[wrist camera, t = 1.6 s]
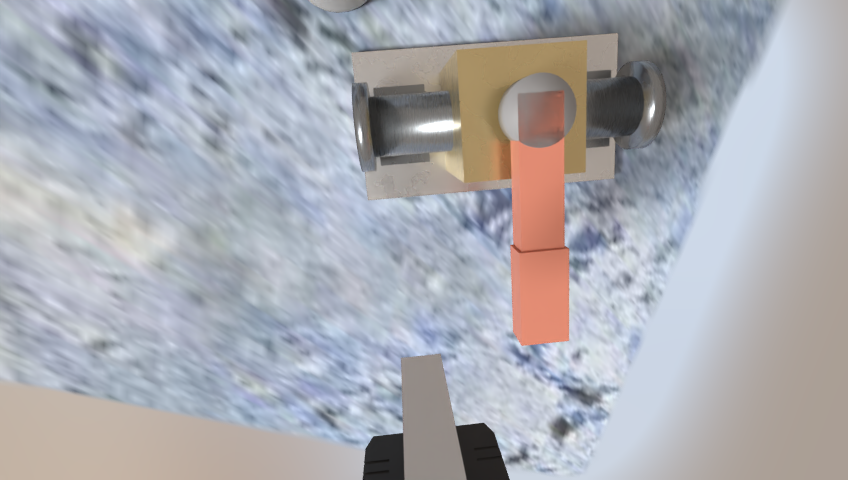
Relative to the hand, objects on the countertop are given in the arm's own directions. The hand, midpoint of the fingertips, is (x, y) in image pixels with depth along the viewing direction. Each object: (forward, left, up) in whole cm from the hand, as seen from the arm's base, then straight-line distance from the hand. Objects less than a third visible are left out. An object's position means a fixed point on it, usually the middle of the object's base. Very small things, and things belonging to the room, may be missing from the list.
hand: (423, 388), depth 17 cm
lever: (-4, +8, -12) cm, 15 cm away
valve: (-10, +8, -24) cm, 27 cm away
